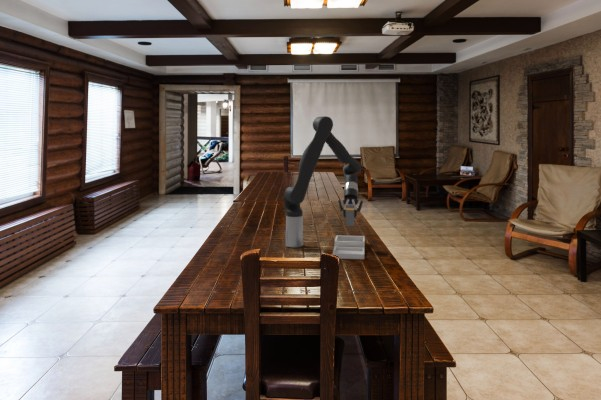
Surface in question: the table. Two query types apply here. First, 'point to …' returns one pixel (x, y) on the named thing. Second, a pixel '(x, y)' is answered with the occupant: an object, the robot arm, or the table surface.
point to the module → (350, 214)
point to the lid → (349, 252)
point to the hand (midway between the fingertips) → (349, 216)
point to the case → (350, 241)
